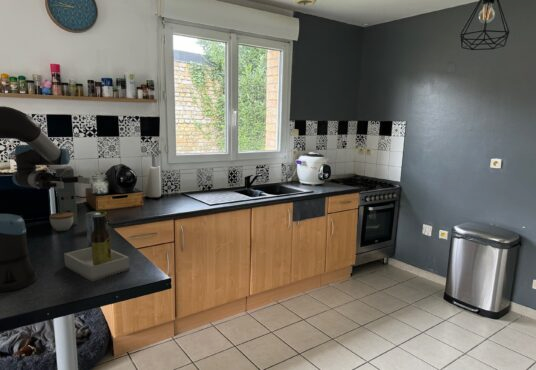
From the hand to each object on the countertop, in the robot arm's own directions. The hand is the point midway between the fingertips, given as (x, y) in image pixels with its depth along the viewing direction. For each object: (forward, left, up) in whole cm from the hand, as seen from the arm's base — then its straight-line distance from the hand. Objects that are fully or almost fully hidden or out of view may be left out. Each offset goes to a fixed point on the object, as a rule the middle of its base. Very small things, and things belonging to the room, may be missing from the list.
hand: (76, 183), depth 163 cm
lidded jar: (+21, +27, -28) cm, 44 cm away
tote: (-23, -23, -28) cm, 43 cm away
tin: (-1, -7, -28) cm, 29 cm away
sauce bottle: (-25, -28, -27) cm, 46 cm away
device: (+34, +34, -28) cm, 56 cm away
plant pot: (+24, +9, -28) cm, 38 cm away
